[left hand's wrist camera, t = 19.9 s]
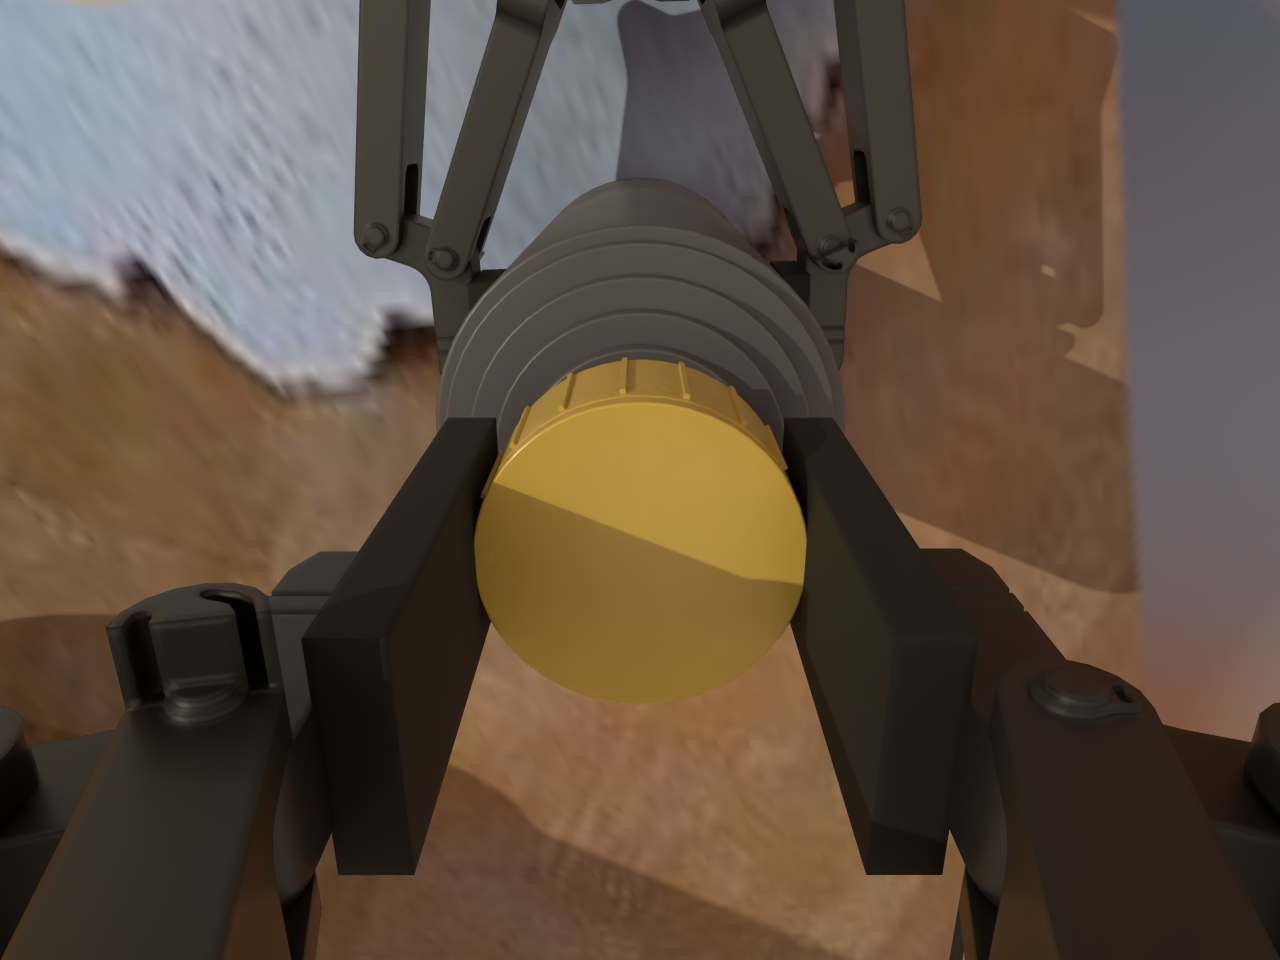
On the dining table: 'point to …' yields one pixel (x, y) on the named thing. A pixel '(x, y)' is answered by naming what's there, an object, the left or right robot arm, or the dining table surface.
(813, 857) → the dining table surface
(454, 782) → the dining table surface
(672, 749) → the dining table surface
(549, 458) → the cap
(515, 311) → the bottle
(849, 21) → the right robot arm
